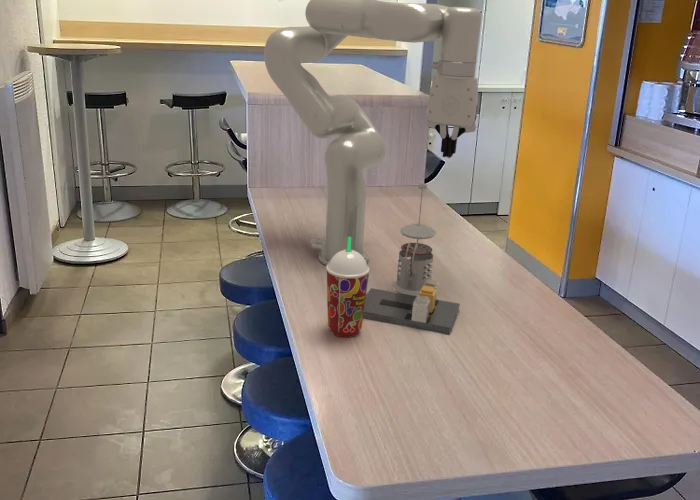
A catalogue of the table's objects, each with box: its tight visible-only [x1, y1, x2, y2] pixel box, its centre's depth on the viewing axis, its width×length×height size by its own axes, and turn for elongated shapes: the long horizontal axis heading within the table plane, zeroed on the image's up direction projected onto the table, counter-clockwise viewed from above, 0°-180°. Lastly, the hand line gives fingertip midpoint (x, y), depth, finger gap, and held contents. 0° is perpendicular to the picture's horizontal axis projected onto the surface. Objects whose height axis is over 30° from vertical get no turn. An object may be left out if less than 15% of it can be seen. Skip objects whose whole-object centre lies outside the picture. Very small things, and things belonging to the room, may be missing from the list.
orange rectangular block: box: [419, 286, 436, 313], centre depth 142 cm, size 3×3×5 cm
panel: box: [363, 278, 461, 335], centre depth 143 cm, size 20×12×6 cm, turn 73°
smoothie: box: [325, 237, 370, 338], centre depth 132 cm, size 8×8×20 cm
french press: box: [391, 182, 437, 296], centre depth 152 cm, size 10×12×25 cm
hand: (447, 156), depth 148 cm, fingers closed
